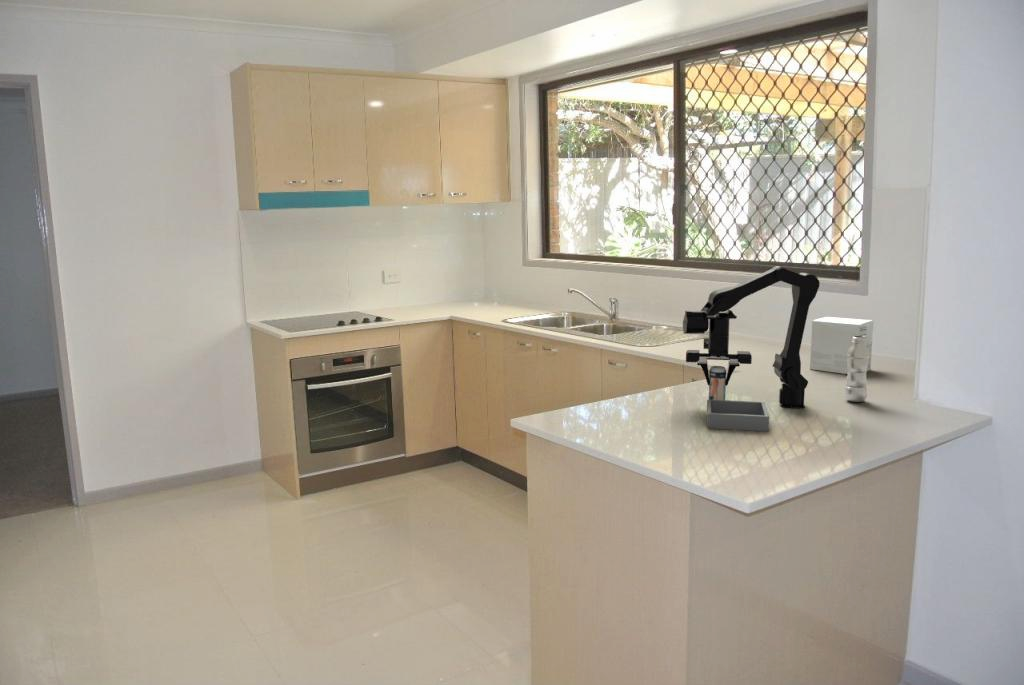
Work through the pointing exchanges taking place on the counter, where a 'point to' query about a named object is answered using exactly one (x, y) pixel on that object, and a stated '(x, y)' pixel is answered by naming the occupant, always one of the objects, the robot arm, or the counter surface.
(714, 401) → the box
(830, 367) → the supplement box
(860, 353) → the plastic bottle
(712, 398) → the beer can
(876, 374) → the counter surface
